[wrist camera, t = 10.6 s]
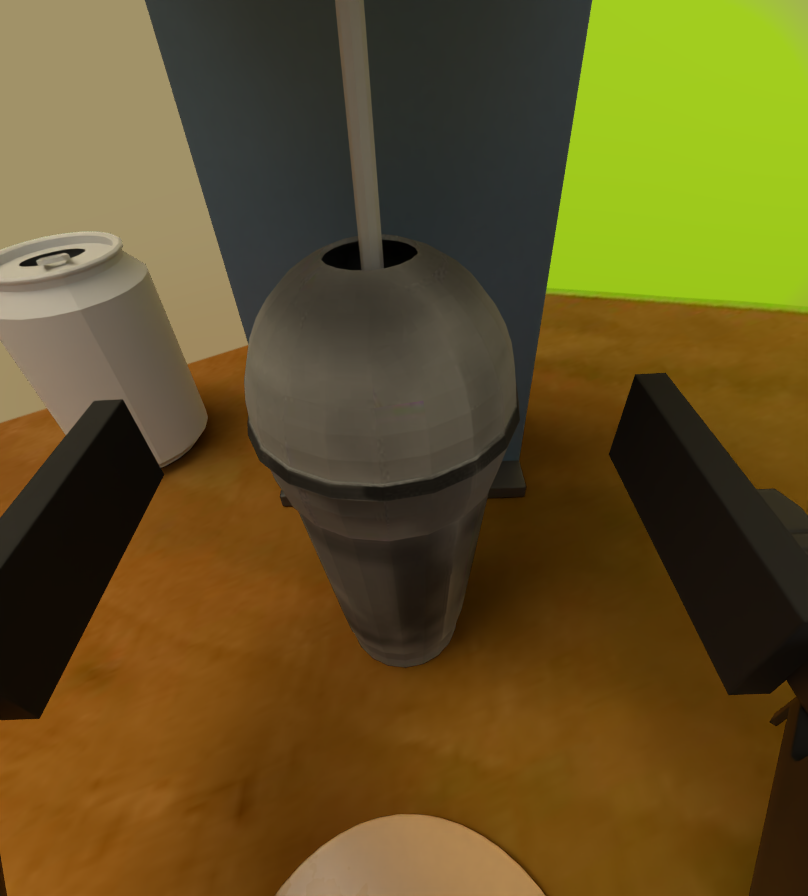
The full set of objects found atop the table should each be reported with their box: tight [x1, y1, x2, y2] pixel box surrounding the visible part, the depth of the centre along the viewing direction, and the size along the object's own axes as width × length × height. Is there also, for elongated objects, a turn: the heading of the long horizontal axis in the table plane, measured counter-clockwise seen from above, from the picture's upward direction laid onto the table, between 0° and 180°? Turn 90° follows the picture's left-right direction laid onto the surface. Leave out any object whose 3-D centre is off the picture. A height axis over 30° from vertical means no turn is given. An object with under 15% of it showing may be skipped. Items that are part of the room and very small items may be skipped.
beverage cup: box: [244, 0, 520, 667], centre depth 14 cm, size 7×7×20 cm
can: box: [0, 232, 208, 468], centre depth 26 cm, size 8×8×12 cm
